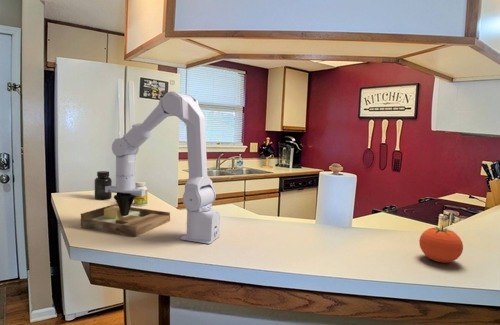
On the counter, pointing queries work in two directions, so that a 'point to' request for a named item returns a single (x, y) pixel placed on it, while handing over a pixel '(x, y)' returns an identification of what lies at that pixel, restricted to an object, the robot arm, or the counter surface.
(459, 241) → the tomato
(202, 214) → the robot arm
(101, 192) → the supplement bottle
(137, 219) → the box
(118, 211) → the block
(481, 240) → the counter surface
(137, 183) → the supplement bottle
